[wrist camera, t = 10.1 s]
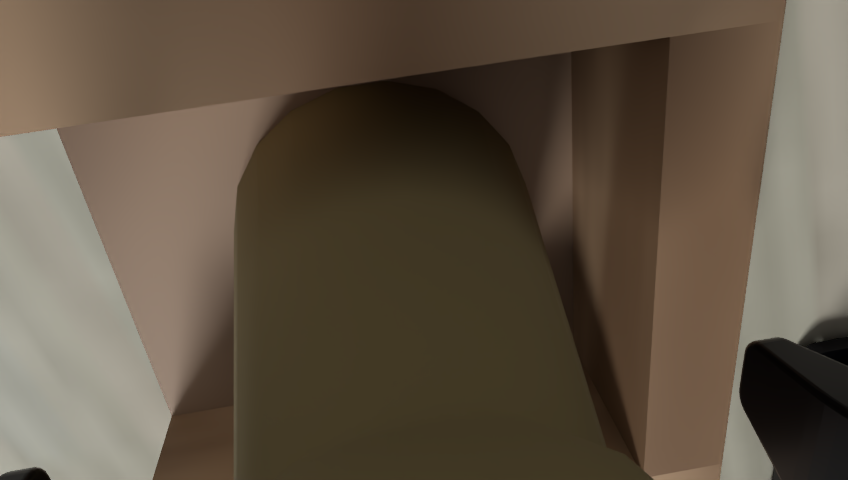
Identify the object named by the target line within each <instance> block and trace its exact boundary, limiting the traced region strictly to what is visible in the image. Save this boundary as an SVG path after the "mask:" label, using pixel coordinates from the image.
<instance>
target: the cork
mask: <svg viewBox="0 0 848 480" xmlns="http://www.w3.org/2000/svg"><path fill="white" fill-rule="evenodd" d="M234 480H654V479H653V478H652V477H650V476H649V475H648V474H647V473H646V472H645V471H644V470H642V469H641V468H640V467H639V466H638V465H637V464H636V463H634V462H633V461H632V460H631V459H630V458H629V457H628V456H626V455H625V454H623V453H620V452H617V451H615V450H612V449H610V448H607V447H606V443H605V440H604V437H603V434H602V430H601V427H600V424H599V421H598V417H597V414H596V411H595V408H594V404H593V401H592V398H591V395H590V391H589V388H588V385H587V382H586V378H585V375H584V372H583V369H582V365H581V362H580V359H579V356H578V352H577V349H576V346H575V343H574V339H573V336H572V333H571V330H570V326H569V323H568V320H567V317H566V313H565V310H564V307H563V304H562V300H561V297H560V294H559V291H558V287H557V284H556V281H555V278H554V274H553V271H552V268H551V265H550V261H549V258H548V255H547V252H546V248H545V245H544V242H543V239H542V235H541V232H540V229H539V226H538V222H537V219H536V216H535V213H534V209H533V206H532V203H531V200H530V196H529V193H528V190H527V187H526V183H525V181H524V179H523V176H522V174H521V172H520V169H519V167H518V164H517V162H516V160H515V157H514V155H513V152H512V150H511V148H510V145H509V144H508V143H507V142H506V141H505V140H504V138H503V137H502V136H501V135H500V134H499V133H498V132H497V131H496V130H495V129H494V128H493V127H492V125H491V124H490V123H489V122H488V121H487V120H486V119H485V118H484V117H483V116H482V115H481V114H480V112H478V111H477V110H475V109H473V108H471V107H469V106H467V105H465V104H463V103H462V102H460V101H458V100H456V99H454V98H452V97H450V96H448V95H447V94H445V93H443V92H441V91H439V90H437V89H433V88H427V87H421V86H415V85H409V84H403V83H397V82H391V81H382V82H375V83H369V84H362V85H355V86H348V87H342V88H336V89H334V90H332V91H330V92H328V93H326V94H324V95H322V96H320V97H318V98H316V99H314V100H312V101H310V102H308V103H306V104H304V105H302V106H300V107H298V108H296V109H294V110H292V111H290V112H289V113H288V114H287V115H286V116H285V117H284V118H283V119H282V120H281V121H280V122H279V123H278V124H277V125H276V126H275V127H274V128H273V129H272V130H271V131H270V132H269V133H268V134H267V135H266V136H265V137H264V138H263V139H262V140H261V141H260V142H259V143H258V144H257V146H256V148H255V150H254V152H253V154H252V156H251V158H250V161H249V163H248V165H247V167H246V169H245V171H244V173H243V176H242V178H241V180H240V182H239V184H238V186H237V197H236V209H235V222H234Z"/></svg>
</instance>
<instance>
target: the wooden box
mask: <svg viewBox="0 0 848 480" xmlns="http://www.w3.org/2000/svg"><path fill="white" fill-rule="evenodd" d="M785 7H786V0H0V137H2V136H9V135H15V134H22V133H29V132H35V131H42V130H49V129H56V128H57V131H58V133H59V136H60V138H61V141H62V143H63V145H64V148H65V150H66V153H67V155H68V158H69V160H70V163H71V165H72V168H73V170H74V173H75V175H76V178H77V180H78V183H79V185H80V188H81V190H82V193H83V195H84V198H85V200H86V203H87V205H88V208H89V210H90V213H91V215H92V218H93V220H94V223H95V225H96V228H97V230H98V233H99V235H100V238H101V240H102V243H103V245H104V248H105V250H106V253H107V255H108V258H109V260H110V263H111V265H112V268H113V270H114V273H115V275H116V278H117V280H118V283H119V285H120V288H121V290H122V293H123V295H124V298H125V300H126V303H127V305H128V308H129V310H130V313H131V315H132V318H133V320H134V323H135V325H136V328H137V330H138V333H139V335H140V338H141V340H142V343H143V345H144V348H145V350H146V353H147V355H148V358H149V360H150V363H151V365H152V368H153V370H154V373H155V375H156V378H157V380H158V383H159V385H160V388H161V390H162V393H163V395H164V398H165V400H166V403H167V405H168V408H169V410H170V412H171V415H172V418H171V421H170V424H169V428H168V431H167V434H166V438H165V441H164V444H163V447H162V451H161V454H160V457H159V460H158V464H157V467H156V470H155V474H154V477H153V480H234V222H235V209H236V197H237V186H238V184H239V182H240V180H241V178H242V176H243V173H244V171H245V169H246V167H247V165H248V163H249V161H250V158H251V156H252V154H253V152H254V150H255V148H256V146H257V144H258V143H259V142H260V141H261V140H262V139H263V138H264V137H265V136H266V135H267V134H268V133H269V132H270V131H271V130H272V129H273V128H274V127H275V126H276V125H277V124H278V123H279V122H280V121H281V120H282V119H283V118H284V117H285V116H286V115H287V114H288V113H289V112H290V111H292V110H294V109H296V108H298V107H300V106H302V105H304V104H306V103H308V102H310V101H312V100H314V99H316V98H318V97H320V96H322V95H324V94H326V93H328V92H330V91H332V90H334V89H336V88H342V87H348V86H355V85H362V84H369V83H375V82H382V81H391V82H397V83H403V84H409V85H415V86H421V87H427V88H433V89H437V90H439V91H441V92H443V93H445V94H447V95H448V96H450V97H452V98H454V99H456V100H458V101H460V102H462V103H463V104H465V105H467V106H469V107H471V108H473V109H475V110H477V111H478V112H480V114H481V115H482V116H483V117H484V118H485V119H486V120H487V121H488V122H489V123H490V124H491V125H492V127H493V128H494V129H495V130H496V131H497V132H498V133H499V134H500V135H501V136H502V137H503V138H504V140H505V141H506V142H507V143H508V144H509V145H510V148H511V150H512V152H513V155H514V157H515V160H516V162H517V164H518V167H519V169H520V172H521V174H522V176H523V179H524V181H525V183H526V187H527V190H528V193H529V196H530V200H531V203H532V206H533V209H534V213H535V216H536V219H537V222H538V226H539V229H540V232H541V235H542V239H543V242H544V245H545V248H546V252H547V255H548V258H549V261H550V265H551V268H552V271H553V274H554V278H555V281H556V284H557V287H558V291H559V294H560V297H561V300H562V304H563V307H564V310H565V313H566V317H567V320H568V323H569V326H570V330H571V333H572V336H573V339H574V343H575V346H576V349H577V352H578V356H579V359H580V362H581V365H582V369H583V372H584V375H585V378H586V382H587V385H588V388H589V391H590V395H591V398H592V401H593V404H594V408H595V411H596V414H597V417H598V421H599V424H600V427H601V430H602V434H603V437H604V440H605V443H606V447H607V448H610V449H612V450H615V451H617V452H620V453H623V454H625V455H626V456H628V457H629V458H630V459H631V460H632V461H633V462H634V463H636V464H637V465H638V466H639V467H640V468H641V469H642V470H644V471H645V472H646V473H647V474H648V475H649V476H650V477H652V478H653V479H654V480H720V473H721V466H722V459H723V451H724V444H725V437H726V430H727V423H728V415H729V408H730V401H731V394H732V387H733V380H734V372H735V365H736V358H737V351H738V344H739V337H740V329H741V322H742V315H743V308H744V301H745V294H746V286H747V279H748V272H749V265H750V258H751V251H752V243H753V236H754V229H755V222H756V215H757V208H758V200H759V193H760V186H761V179H762V172H763V164H764V157H765V150H766V143H767V136H768V129H769V121H770V114H771V107H772V100H773V93H774V86H775V78H776V71H777V64H778V57H779V50H780V43H781V35H782V28H783V21H784V14H785Z"/></svg>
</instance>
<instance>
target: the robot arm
mask: <svg viewBox="0 0 848 480" xmlns="http://www.w3.org/2000/svg"><path fill="white" fill-rule="evenodd" d="M739 393H740V400H741V404H742V406H743V409H744V411H745V413H746V415H747V417H748V418H749V420H750V422H751V424H752V426H753V428H754V430H755V432H756V434H757V436H758V437H759V439H760V441H761V443H762V445H763V447H764V449H765V451H766V453H767V455H768V457H769V458H770V460H771V462H772V464H773V466H774V468H775V470H774V475H773V480H848V337H846V338H840V339H834V340H829V341H823V342H817V343H814V344H811V345H809V346H807V347H806V348H805V347H803V346H801V345H798V344H796V343H794V342H792V341H789V340H787V339H784V338H780V337H777V338H770V339H764V340H758V341H753V342H751V343H749V344H748V346H747V347H746V350H745V354H744V361H743V368H742V375H741V381H740V388H739ZM0 480H51V479H50V478H49V476H48V474H47V473H46V471H44V470H43V469H41V468H37V467H33V468H27V469H22V470H16V471H10V472H7V473H5V474H3V475H1V476H0Z"/></svg>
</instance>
